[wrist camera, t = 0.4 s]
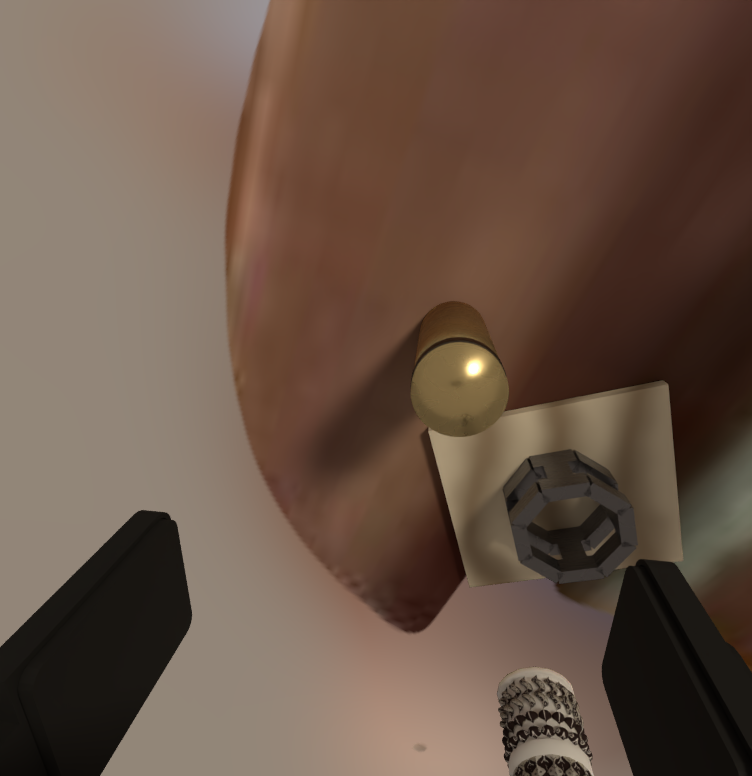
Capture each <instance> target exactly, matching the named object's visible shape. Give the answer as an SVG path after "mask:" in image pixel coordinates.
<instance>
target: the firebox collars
mask: <svg viewBox="0 0 752 776" xmlns="http://www.w3.org/2000/svg"><path fill="white" fill-rule="evenodd" d="M529 457H530V459H528V458H526V459H525V460H524V462H523V463H522V464H521V465H520V467H519V468H518V469H517V470H516V471H515V473H514V474H513V475H512V476H511V478H510V479H509V480H508V481H507V483H506V484H505V485H504V486H503V488H504V489H503V493H504V498H505V503H506V507H507V512H508V516H509V521H510V525H511V530H512V534H513V538H514V543H515V547H516V552H517V556H518V561H520V563H521V564H522V565H524V566H526V567H528V568H530V569H531V570H533V571H535V572H537V573H539V574H540V575H542V576H544V577H546V578H548V579H549V580H551V581H553V582H555V583H557V582H558V581H559V584H562V583H570V582H579V581H587V580H595V579H603V578H604V576H606V577H608V576H609V575H610V574H611V573H612V572H613V571H614V570H615V569H616V568H617V567H618V566H619V565H620V564H621V563H622V562H623V561H624V560H625V559H626V558H627V557H628V556H629V555H630V554H631V553H632V552H633V551H634V550H635V549H636V548H637V547H636V545H638V541H637V533H636V525H635V516H634V508H633V506H632V505H631V503H630V502H629V500H628V499H627V497H626V496H625V494H623V493H621V492H620V491H619V489H618V483H617V482H616V480H615V479H614V477H613V476H612V474H611V472H610V471H609V470H608V469H607V468H605V467H604V466H602V465H600V464H599V463H597V462H595V461H593V460H592V459H590V458H588V457H587V456H585V455H583V454H581V453H580V452H578V451H576V450H575V449H574V450H573V451H572V449H568V450H562V451H556V452H551V453H545V454H539V455H534V456H529ZM573 473H576V474H573ZM542 478H545V479H542ZM539 479H541V480H539ZM537 482H538V483H539V484H538V483H537ZM585 496H587V497H589V498H591V499H593V500H594V501H596V502H598V503H600V505H599V506H598V507H597V508H596V509H595V510H594V511H593V512H592V513H591V515H590V516H589V517H588V518H587V519H586V520H585V521H584V522H583V523H582V524H581V525H580V526H577V527H571V528H564V529H557V530H550V531H547V530H545V529H544V528H542V527H540V526H538V525H537V524H535V523H533V522H532V521H533V519H534V518H535V517H536V516H537V515H538V514H539V513H540V511H541V510H542V509H543V508H544V507H545V506H546V505H547V503H548V502H553V501H559V500H566V499H572V498H578V497H585ZM614 528H615V533H614V534H613V535H612V536H611V537H610V538H609V539H608V540H607V541H606V542H605V543H604V544H603V545H602V546H601V547H600V548H599V549H598V550H597V551H596V552H595V553H594V554H593V555H590V556H587V555H586V553H585V551H590V550H591V547H592V548H593V549H595V548H596V547H597V546H598V545H599V544H600V543H601V542H602V541H603V540H604V539H605V538H606V537H607V536H608V535H609V533H610V532H611V531H612V530H613V529H614ZM549 553H550V555H548V554H549ZM553 555H560V558H561V559H560V560H557V559H555V558H553V557H552V556H553Z"/></svg>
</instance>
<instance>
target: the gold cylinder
mask: <svg viewBox="0 0 752 776" xmlns="http://www.w3.org/2000/svg"><path fill="white" fill-rule="evenodd" d="M508 396H509V387H508V381H507V377H506V373H505V370H504V368H503V365H502V363H501V361H500V359H499V358H498V355H497V353H496V350H495V348H494V345H493V343H492V340H491V338H490V335H489V333H488V330H487V328H486V325H485V323H484V320H483V318H482V316H481V315H480V314H479V312H478V311H477V310H476V309H475V308H473V307H472V306H470V305H468V304H465V303H462V302H456V301H451V302H445V303H442V304H439V305H437V306H436V307H434V308H433V309H432V310H430V311H429V312H428V313H427V315H426V316H425V317H424V319H423V321H422V324H421V327H420V333H419V339H418V346H417V352H416V358H415V365H414V369H413V373H412V379H411V400H412V405H413V407H414V410H415V412H416V414H417V415H418V417H419V418H420V419H421V421H422V422H423V423H424V424H425V425H427V426H428V427H429V428H431V429H432V430H434V431H436V432H438V433H440V434H443V435H446V436H451V437H467V436H472V435H476V434H478V433H481V432H483V431H485V430H486V429H488V428H489V427H491V426H492V425H493V424H494V423H495V422H496V421H497V420H498V419H499V418H500V417H501V415H502V413H503V412H504V410H505V408H506V405H507V402H508Z"/></svg>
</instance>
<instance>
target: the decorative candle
mask: <svg viewBox="0 0 752 776" xmlns="http://www.w3.org/2000/svg"><path fill="white" fill-rule="evenodd" d="M497 696H498V699H499V703H500V705H501V707H500V708H499V709H498V711H499V712H500V716H501V718H502V721H501V722H500V726H501V727H503V728H504V730H503V735H504V737H503V739H502V742H503V744H504V745H505V754H504V758H505V761H506V762H507V763H508V768H509V774H510V776H594V775H593V771H592V767H591V759H592V753H591V751H590V750H589V746H588V744H587V741H588V739H587V736H586V735H585V734H584V729H583V719H582V717H581V715H580V712H579V705H578V703H577V701H576V698H575V696H574V693H573V689H572V685H571V684H570V683H569V682H568V680H567V679H566V678H565V677H564V676H563V675H561V674H559V673H557V672H555V671H552V670H550V669H546V668H539V667H529V668H522V669H518V670H516V671H514V672H511V673H509V674H507V675H506V676H505V678H504V679H503V680H502V681H501V682H500V683H499V687H498V691H497ZM580 737H581V738H580Z"/></svg>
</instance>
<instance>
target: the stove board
mask: <svg viewBox="0 0 752 776" xmlns="http://www.w3.org/2000/svg"><path fill="white" fill-rule="evenodd" d="M428 432H429V435H430V439H431V443H432V447H433V451H434V454H435V458H436V462H437V466H438V470H439V473H440V477H441V481H442V485H443V488H444V492H445V496H446V500H447V504H448V507H449V511H450V515H451V519H452V522H453V526H454V530H455V534H456V538H457V541H458V545H459V549H460V553H461V557H462V560H463V564H464V568H465V572H466V575H467V579H468V583H469V587H477V586H485V585H493V584H502V583H510V582H518V581H526V580H534V579H541V578H546V577H544V576H542V575H540V574H539V573H537V572H535V571H533V570H531V569H530V568H528V567H526V566H524V565H522V564H521V563H520V561H518V556H517V552H516V547H515V543H514V538H513V534H512V530H511V525H510V521H509V516H508V512H507V507H506V503H505V498H504V493H503V489H504V488H503V486H504V485H505V484H506V483H507V481H508V480H509V479H510V478H511V476H512V475H513V474H514V473H515V471H516V470H517V469H518V468H519V467H520V465H521V464H522V463H523V462H524V460H525V459H526V458H528V459H530V457H529V456H534V455H539V454H545V453H551V452H556V451H562V450H568V449H572V451H573V450H574V449H575V450H576V451H578V452H580V453H581V454H583V455H585V456H587V457H588V458H590V459H592V460H593V461H595V462H597V463H599V464H600V465H602V466H604V467H605V468H607V469H608V470H609V471H610V472H611V474H612V476H613V477H614V479H615V480H616V482H617V483H618V489H619V491H620V492H621V493H623V494H625V496H626V497H627V499H628V500H629V502H630V503H631V505H632V506H633V508H634V516H635V525H636V533H637V541H638V545H636V547H637V548H636V549H635V550H634V551H633V552H632V553H631V554H630V555H629V556H628V557H627V558H626V559H625V560H624V561H623V562H622V563H621V564H620V565H619V566H618V567H617V568H616V569H622V568H627V567H628V566H635V565H636V562H637V561H638V560H639V559H648V560H658V561H668V562H679V561H683V551H682V539H681V528H680V516H679V504H678V492H677V480H676V469H675V457H674V445H673V433H672V421H671V410H670V398H669V386H668V384H667V383H666V382H665V381H663V380H662V381H656V382H651V383H646V384H641V385H636V386H631V387H626V388H621V389H616V390H611V391H606V392H601V393H596V394H591V395H586V396H581V397H576V398H571V399H566V400H561V401H555V402H550V403H545V404H540V405H535V406H530V407H525V408H520V409H515V410H510V411H505V412H503V413H502V415H501V417H500V418H499V419H498V420H497V421H496V422H495V423H494V424H493V425H492V426H491V427H489V428H488V429H486V430H485V431H483V432H481V433H478V434H476V435H472V436H467V437H451V436H446V435H443V434H440V433H438V432H436V431H434V430H432V429H431V428H429V429H428ZM573 474H576V473H573ZM542 479H545V478H542ZM539 480H541V479H539ZM537 483H538V482H537ZM538 484H539V483H538ZM599 505H600V503H598V502H596V501H594V500H593V499H591V498H589V497H587V496H585V497H578V498H572V499H566V500H559V501H553V502H548V503H547V505H546V506H545V507H544V508H543V509H542V510H541V511H540V513H539V514H538V515H537V516H536V517H535V518H534V519H533V521H532V522H533V523H535V524H537V525H538V526H540V527H542V528H544V529H545V530H547V531H550V530H557V529H564V528H571V527H577V526H580V525H581V524H582V523H583V522H584V521H585V520H586V519H587V518H588V517H589V516H590V515H591V513H592V512H593V511H594V510H595V509H596V508H597V507H598V506H599ZM614 533H615V528H614V529H613V530H612V531H611V532H610V533H609V535H608V536H607V537H606V538H605V539H604V540H603V541H602V542H601V543H600V544H599V545H598V546H597V547H596V548H595V549H593V548H592V547H591V550H590V551H585V553H586V555H587V556H590V555H593V554H594V553H595V552H596V551H597V550H598V549H599V548H600V547H601V546H602V545H603V544H604V543H605V542H606V541H607V540H608V539H609V538H610V537H611V536H612V535H613V534H614ZM548 555H550V553H549V554H548ZM552 557H553V558H555V559H557V560H560V559H561V558H560V555H553V556H552Z"/></svg>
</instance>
